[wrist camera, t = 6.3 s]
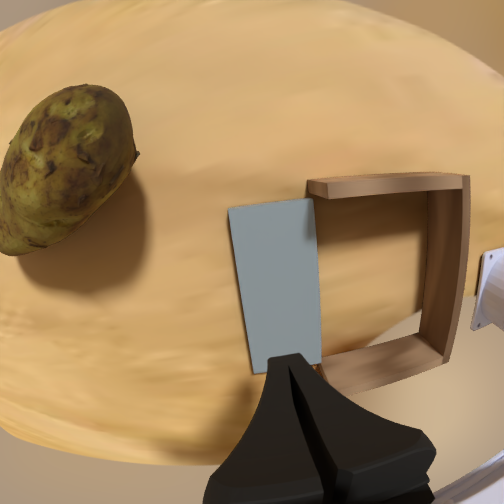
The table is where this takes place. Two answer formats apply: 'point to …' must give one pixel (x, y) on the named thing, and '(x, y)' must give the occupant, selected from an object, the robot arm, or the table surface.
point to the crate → (436, 281)
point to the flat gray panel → (278, 278)
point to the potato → (63, 166)
